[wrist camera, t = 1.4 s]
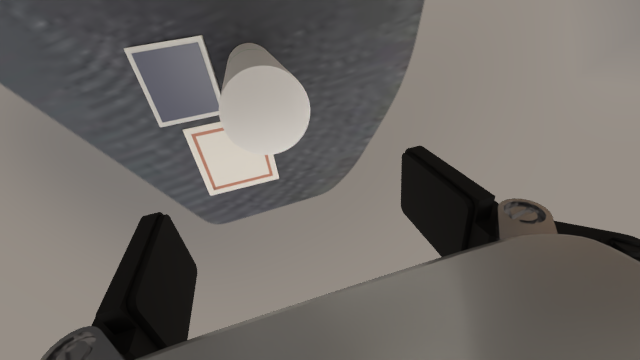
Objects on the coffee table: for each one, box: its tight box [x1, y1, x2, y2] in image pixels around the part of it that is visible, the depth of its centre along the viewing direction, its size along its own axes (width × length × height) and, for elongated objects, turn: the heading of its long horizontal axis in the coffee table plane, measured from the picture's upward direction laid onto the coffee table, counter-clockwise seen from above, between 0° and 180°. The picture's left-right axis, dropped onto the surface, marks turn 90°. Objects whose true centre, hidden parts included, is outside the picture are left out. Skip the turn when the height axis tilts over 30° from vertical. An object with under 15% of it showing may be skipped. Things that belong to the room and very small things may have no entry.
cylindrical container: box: [219, 43, 310, 155], centre depth 33 cm, size 7×7×25 cm
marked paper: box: [183, 121, 279, 196], centre depth 49 cm, size 13×13×1 cm
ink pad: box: [124, 35, 221, 127], centre depth 41 cm, size 11×10×2 cm
